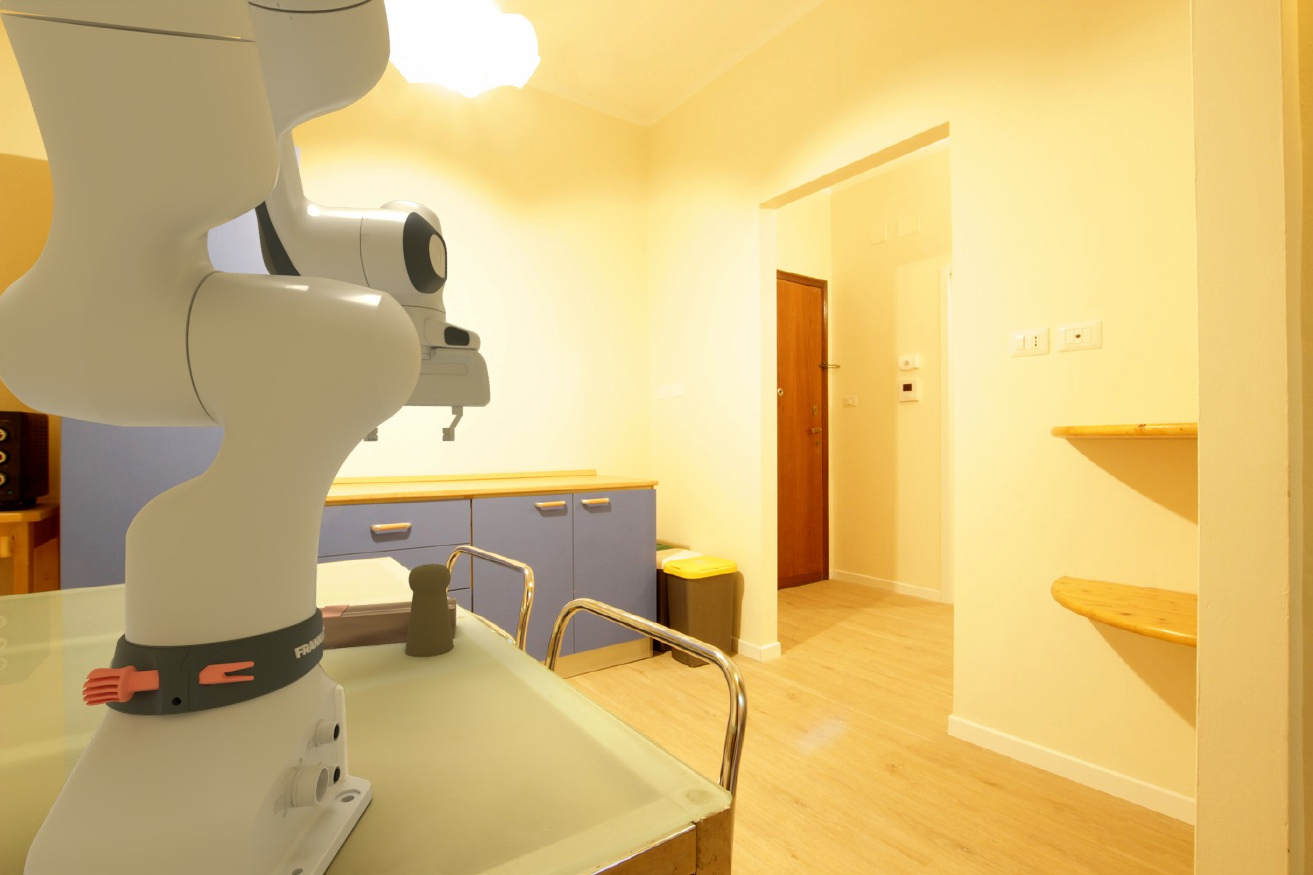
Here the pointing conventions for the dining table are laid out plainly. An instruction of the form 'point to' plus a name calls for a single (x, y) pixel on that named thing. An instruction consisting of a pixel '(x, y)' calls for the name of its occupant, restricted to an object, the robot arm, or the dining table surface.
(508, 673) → the dining table surface
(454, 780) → the dining table surface
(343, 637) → the walnut plank
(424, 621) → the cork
